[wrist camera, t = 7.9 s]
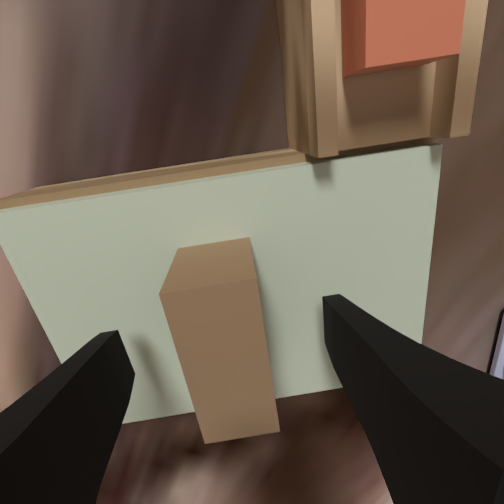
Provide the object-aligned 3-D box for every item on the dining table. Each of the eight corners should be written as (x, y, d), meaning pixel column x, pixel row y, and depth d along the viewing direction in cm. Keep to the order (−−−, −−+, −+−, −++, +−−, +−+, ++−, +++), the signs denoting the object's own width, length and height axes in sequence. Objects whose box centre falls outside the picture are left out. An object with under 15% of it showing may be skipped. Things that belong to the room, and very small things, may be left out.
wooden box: (385, 329, 18) (414, 366, 15) (118, 372, 17) (97, 418, 15) (394, 131, 13) (437, 133, 11) (39, 186, 13) (-11, 202, 10)
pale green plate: (408, 362, 15) (468, 441, 11) (101, 413, 15) (58, 508, 11) (428, 142, 11) (533, 151, 7) (2, 208, 11) (-120, 252, 7)
